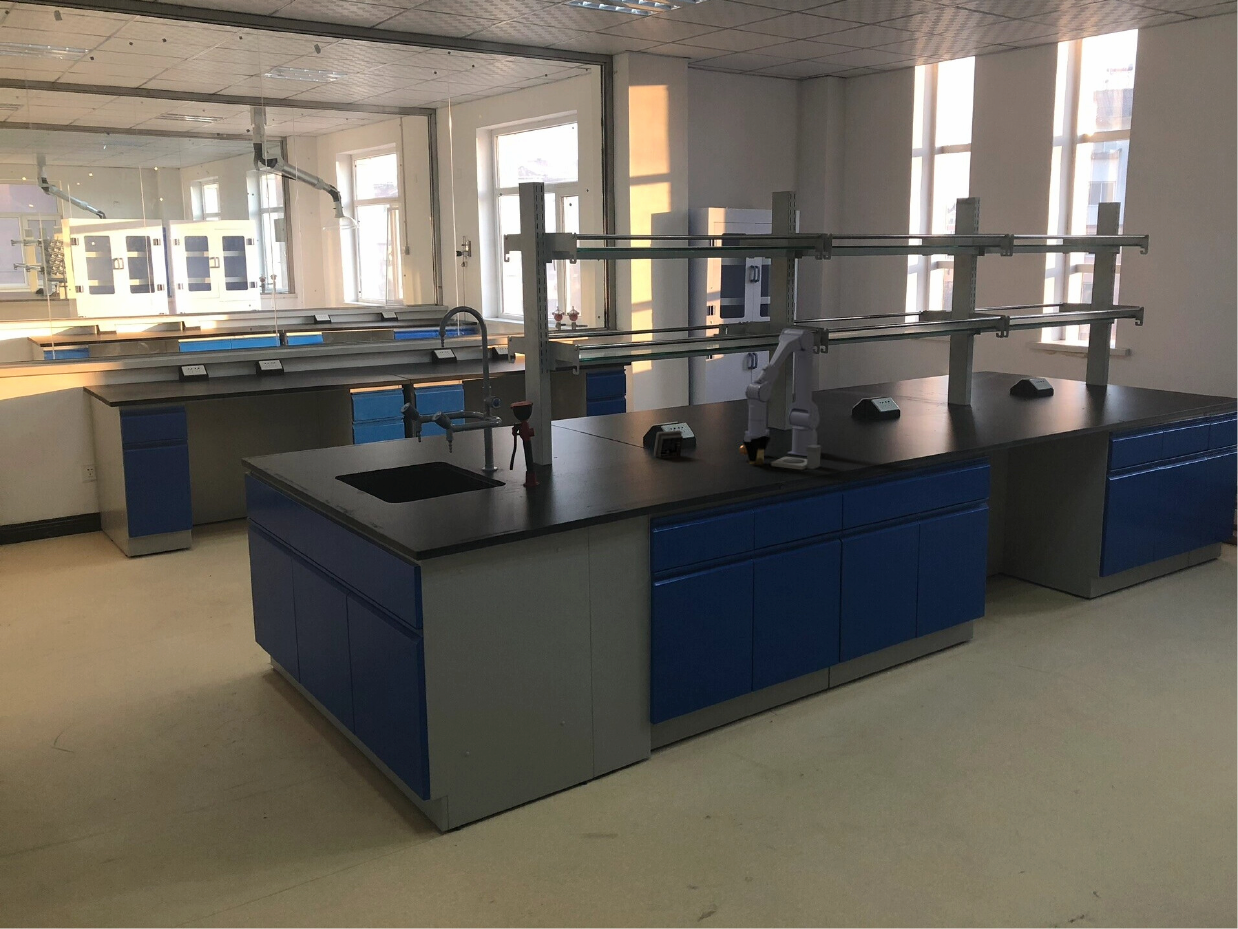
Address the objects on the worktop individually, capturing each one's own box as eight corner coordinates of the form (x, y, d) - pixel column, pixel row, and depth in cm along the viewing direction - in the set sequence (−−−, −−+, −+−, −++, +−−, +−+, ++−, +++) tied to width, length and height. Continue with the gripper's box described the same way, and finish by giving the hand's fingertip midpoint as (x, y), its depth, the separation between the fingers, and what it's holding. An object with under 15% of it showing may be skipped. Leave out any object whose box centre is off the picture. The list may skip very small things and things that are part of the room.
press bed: (785, 459, 344) (786, 439, 342) (824, 464, 336) (825, 443, 335) (771, 465, 335) (771, 444, 333) (811, 470, 327) (812, 449, 326)
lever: (750, 450, 351) (750, 440, 350) (759, 451, 349) (760, 441, 348) (736, 455, 343) (737, 445, 342) (746, 456, 341) (746, 446, 340)
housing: (752, 461, 341) (753, 444, 340) (766, 463, 338) (766, 445, 337) (745, 464, 337) (746, 446, 336) (759, 466, 334) (760, 448, 333)
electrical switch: (677, 454, 353) (678, 428, 351) (684, 458, 349) (685, 432, 346) (653, 457, 350) (654, 431, 347) (659, 461, 345) (660, 434, 343)
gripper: (756, 415, 343) (755, 454, 346) (736, 421, 331) (735, 462, 334) (775, 417, 339) (774, 456, 342) (755, 423, 327) (754, 464, 330)
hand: (756, 459), depth 337 cm, fingers closed on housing, 5 cm apart
